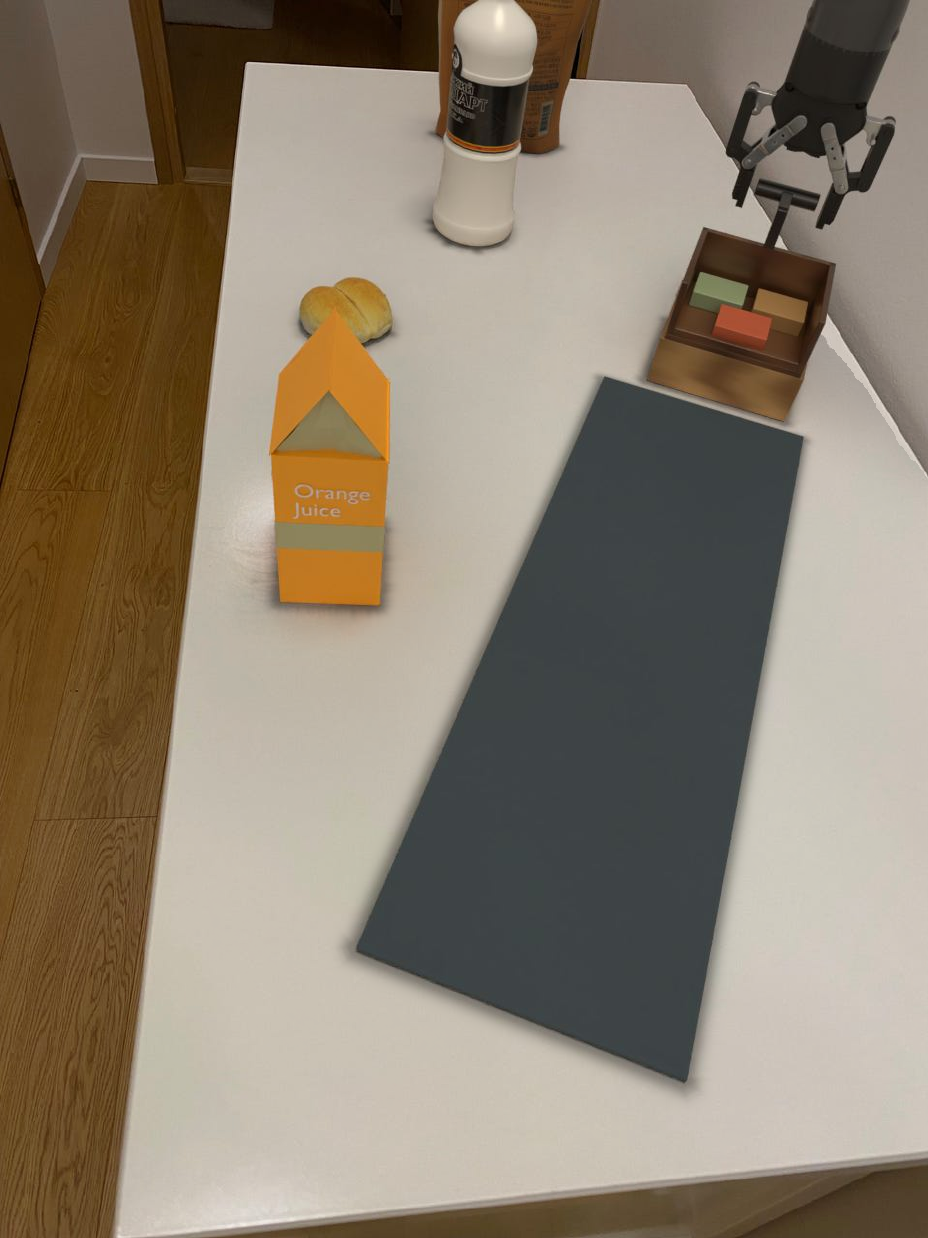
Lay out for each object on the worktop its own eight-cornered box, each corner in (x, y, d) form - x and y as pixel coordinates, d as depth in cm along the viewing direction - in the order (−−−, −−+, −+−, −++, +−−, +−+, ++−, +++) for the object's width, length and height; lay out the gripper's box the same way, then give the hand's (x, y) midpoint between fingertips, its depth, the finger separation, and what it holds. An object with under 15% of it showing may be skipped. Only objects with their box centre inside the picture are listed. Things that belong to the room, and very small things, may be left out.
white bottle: (518, 250, 107) (570, -63, 84) (437, 249, 106) (467, -72, 82) (504, 209, 113) (549, -96, 90) (427, 206, 111) (452, -105, 88)
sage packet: (743, 299, 95) (748, 284, 94) (737, 319, 93) (743, 305, 92) (695, 285, 96) (700, 271, 95) (688, 305, 94) (693, 290, 92)
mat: (802, 439, 91) (803, 436, 91) (685, 1082, 53) (687, 1080, 53) (603, 379, 94) (604, 375, 93) (355, 950, 56) (356, 948, 55)
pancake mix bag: (571, 164, 122) (623, -100, 101) (424, 148, 120) (445, -124, 99) (567, 140, 126) (617, -118, 105) (425, 124, 125) (445, -141, 103)
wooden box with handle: (816, 297, 98) (858, 201, 90) (799, 378, 89) (846, 279, 81) (692, 262, 100) (724, 165, 92) (664, 338, 90) (696, 237, 83)
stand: (797, 358, 100) (816, 316, 96) (784, 422, 93) (804, 379, 89) (669, 320, 102) (682, 278, 98) (646, 380, 94) (660, 337, 90)
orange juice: (382, 523, 78) (395, 309, 62) (381, 606, 72) (395, 393, 57) (285, 519, 77) (274, 301, 62) (277, 602, 71) (262, 385, 56)
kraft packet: (802, 316, 95) (808, 301, 93) (797, 336, 92) (804, 322, 91) (753, 302, 95) (758, 287, 94) (747, 322, 93) (753, 308, 92)
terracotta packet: (766, 332, 92) (772, 318, 91) (760, 354, 89) (767, 339, 88) (716, 317, 93) (721, 303, 91) (709, 339, 90) (714, 324, 89)
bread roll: (285, 314, 95) (284, 278, 92) (363, 292, 99) (364, 257, 95) (327, 359, 91) (327, 322, 88) (405, 335, 95) (408, 299, 92)
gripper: (935, 35, 82) (853, 217, 94) (773, -5, 84) (714, 179, 96) (933, 65, 77) (848, 252, 90) (761, 22, 79) (701, 211, 92)
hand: (779, 214), depth 93 cm, fingers open, 7 cm apart
